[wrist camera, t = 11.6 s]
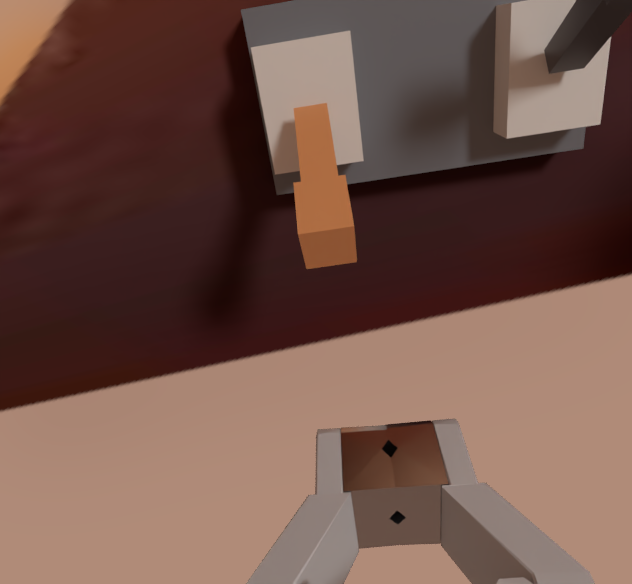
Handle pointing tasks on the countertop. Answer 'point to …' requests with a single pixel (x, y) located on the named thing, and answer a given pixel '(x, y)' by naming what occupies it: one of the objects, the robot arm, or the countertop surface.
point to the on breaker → (584, 33)
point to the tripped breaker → (321, 193)
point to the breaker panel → (419, 83)
